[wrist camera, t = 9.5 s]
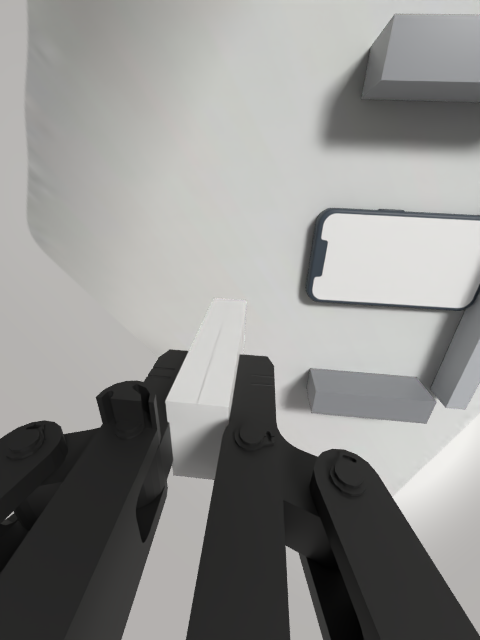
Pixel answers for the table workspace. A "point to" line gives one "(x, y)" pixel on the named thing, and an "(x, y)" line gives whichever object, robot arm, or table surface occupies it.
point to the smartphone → (395, 259)
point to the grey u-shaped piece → (476, 323)
